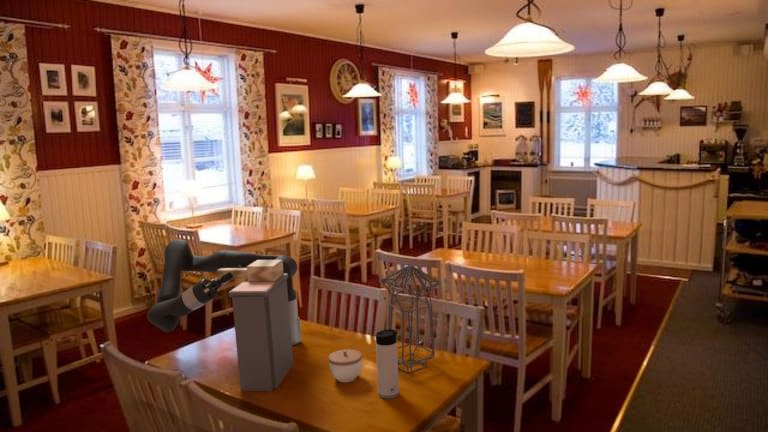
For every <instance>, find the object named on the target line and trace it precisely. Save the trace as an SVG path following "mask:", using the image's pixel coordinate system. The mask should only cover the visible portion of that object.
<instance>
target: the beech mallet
mask: <svg viewBox="0 0 768 432" xmlns="http://www.w3.org/2000/svg"><path fill="white" fill-rule="evenodd" d="M228 272H231V273H232V275H233V278H231V279H230V280H246V279H248V281H275V280H277V279H278V278H279V277H281V276H282V275H283V274H284V273H283V260H256V261H255V262H253V263H252V264H250V265H248V266H247V268H220V269H218V270H217V273H216V277H218V278H221V277H222V276H224V275H225V274H227V273H228Z"/></svg>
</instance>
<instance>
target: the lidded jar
mask: <svg viewBox="0 0 768 432" xmlns="http://www.w3.org/2000/svg"><path fill="white" fill-rule="evenodd" d="M328 364H329V365H328V366H329V370H330V373H331V375H332V376H333V377H334V378H335V379H337V381H338V382H340V383H350V382H354V381H355V380H356V379H357V377H358V376H359V375H360V373H361V371H362V368H363V367H362V366H363V365H362V364H363V355H362V352H361V351H359V350H356V349H340V350H336V351H334V352H331V353H330V354H329V355H328Z"/></svg>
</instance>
